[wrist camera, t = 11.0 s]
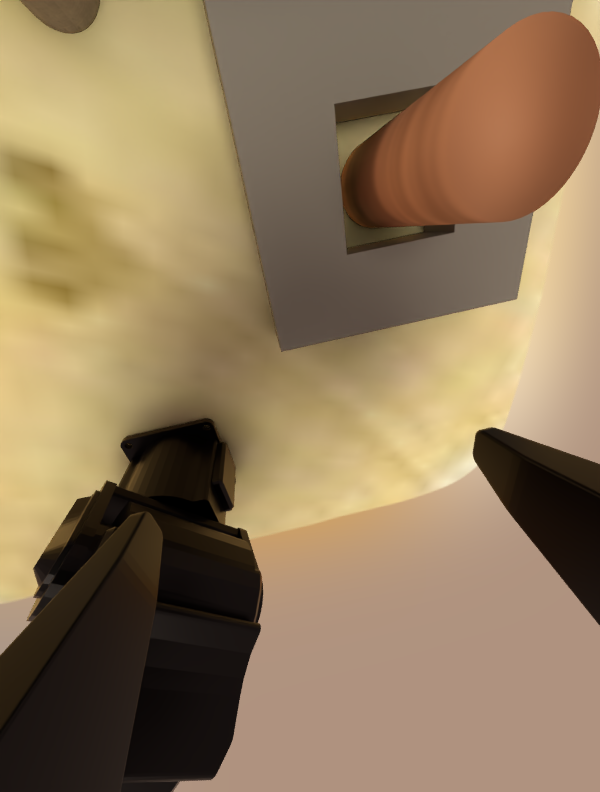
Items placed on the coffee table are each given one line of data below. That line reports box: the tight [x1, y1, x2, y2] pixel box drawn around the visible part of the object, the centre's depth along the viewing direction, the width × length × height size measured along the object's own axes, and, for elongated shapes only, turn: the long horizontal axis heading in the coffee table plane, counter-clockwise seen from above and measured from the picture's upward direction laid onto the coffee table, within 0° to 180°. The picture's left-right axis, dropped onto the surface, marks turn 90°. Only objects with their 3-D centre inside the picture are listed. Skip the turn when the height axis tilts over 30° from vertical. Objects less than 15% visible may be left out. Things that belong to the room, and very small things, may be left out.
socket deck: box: [203, 0, 573, 352], centre depth 13 cm, size 14×22×3 cm, turn 10°
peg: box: [341, 11, 600, 228], centre depth 12 cm, size 4×4×10 cm
